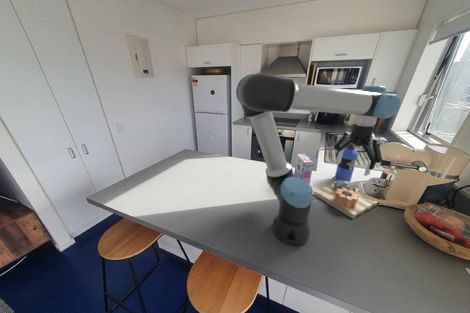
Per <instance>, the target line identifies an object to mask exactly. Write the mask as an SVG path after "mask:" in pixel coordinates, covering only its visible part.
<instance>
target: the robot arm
mask: <svg viewBox="0 0 470 313" xmlns="http://www.w3.org/2000/svg"><path fill="white" fill-rule="evenodd" d="M386 90H387V88H386V86H385V85H384V86H383V85H364V86H363V88H362V89H361V90H356V89H346V88H338V87H328V86H321V85H311V84H304V83H296V82H295V80H294V79H291V78H285V77H279V76H275V75H272V74H267V73H264V72H257V73H250V74H247V75H245V76H243V77H242V78H241V79H240V81H239V82H238V83H237V86H236V93H235V94H236V96H235V97H236V99H237V100H238V102H239V103H240V105H241V107H242V108H241V109H242V111H243V113H244V115H245V118H246V119H248V120H250V121H251V124H252V125H251V126H252V127H253V130H254V133H255V136H256V139H257V142H258V144H259V147H260V150H261V153H262V156H263V158H264V162H265V165H266V169H265V175H266V182H267V183H268V185H269V187H270V188H271V190H272V191H273V193H274V196H275V197H276V198H277V200H278V203H279V204H278V205H279V206H278V213H277V215H276V217H275V219H273V223H272V233H273V234H274V236H275V237H276V238H277V239H278V240H279V241H281V243H283V244H285V245H289V246H294V247H298V246H299V247H300V246H303V245H305V244H306V243H307V242H308V241H309V240H310V237H311V236H310V235H311V229H310V226H309V215H310V211H311V207H312V202H313V200H314V198H313V197H314V190H313V187H312V186H311V184H309V183H308V182H306V181H305V180H301V179H300V178H297V177H295V176H294V171H293V167H292V165H291V163H290V162H288V161H287V160H286V156H285V152H284V151H283V150H284V148H283V146H282V143H281V139H280V134H279V132H278V129H277V126H276V122H275V119H274V118H275V117H274V115H273V112H276V113H277V112H278V113H287V112H289V111H290V110H295V111H296V110H297V111H304V112H305V111H307V112H320V113H330V114H341V115H355V117H354V121H353V123H354V124H353V125H352V127H351V128H352V129H351V132H350V131H345V132H344V133H343V135H342V137H341V138H340V139H339V140H338V141H337V142H336V144H335V145H334V146H333V149H335V150H336V154H335V156H336V161H335V164H336V165H338V164H339V163H341V159H342V155H343V151H341V150H343V149H347V146H349V145H350V144H352V143H353V144H354V145H355V146H359V147H362V148H363V149H364V151H365V153H366V155H367V157H368V159H369V161H367V165H366V168H365V171H364V174H363V175H364V176H365V177H366V176H369V175H370V174H371V170H373V169H375V167H376V164H379V163H382V162H383V156H382V152H381V148H380V142H381V140H380V138H372V135H373V133H374V130H375V125H376V123H377V120H378V119H389V118H391V117H394V115H396V113H397V112H398V111H399V108H400V105H401V99H400V97H399V96H398V94H393V93H388V92H386ZM348 138H350V139H349V140H348V141H347V139H348ZM345 141H347V142H345ZM344 142H345V143H344ZM370 142H371V144H372V145H370ZM343 143H344V144H343ZM342 144H343V145H342ZM371 146H372V147H371Z"/></svg>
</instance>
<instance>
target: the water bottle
mask: <svg viewBox="0 0 470 313" xmlns="http://www.w3.org/2000/svg"><path fill="white" fill-rule="evenodd" d="M355 148H356V145H354V144H353V143H352V144H350V145H349V146H347V147H346V148H344V149H343V150H341V151H343V155H342V159H341V163H339V164H337V167H336V171H335V175H334V179H335V180H336V181H338V180H342V181H349V182H350V183H351V181H352V176H353V174H354V173H353V172H354V170H355V164H356V162H357V159H358V157H359V152H358V151H356V150H355Z"/></svg>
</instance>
